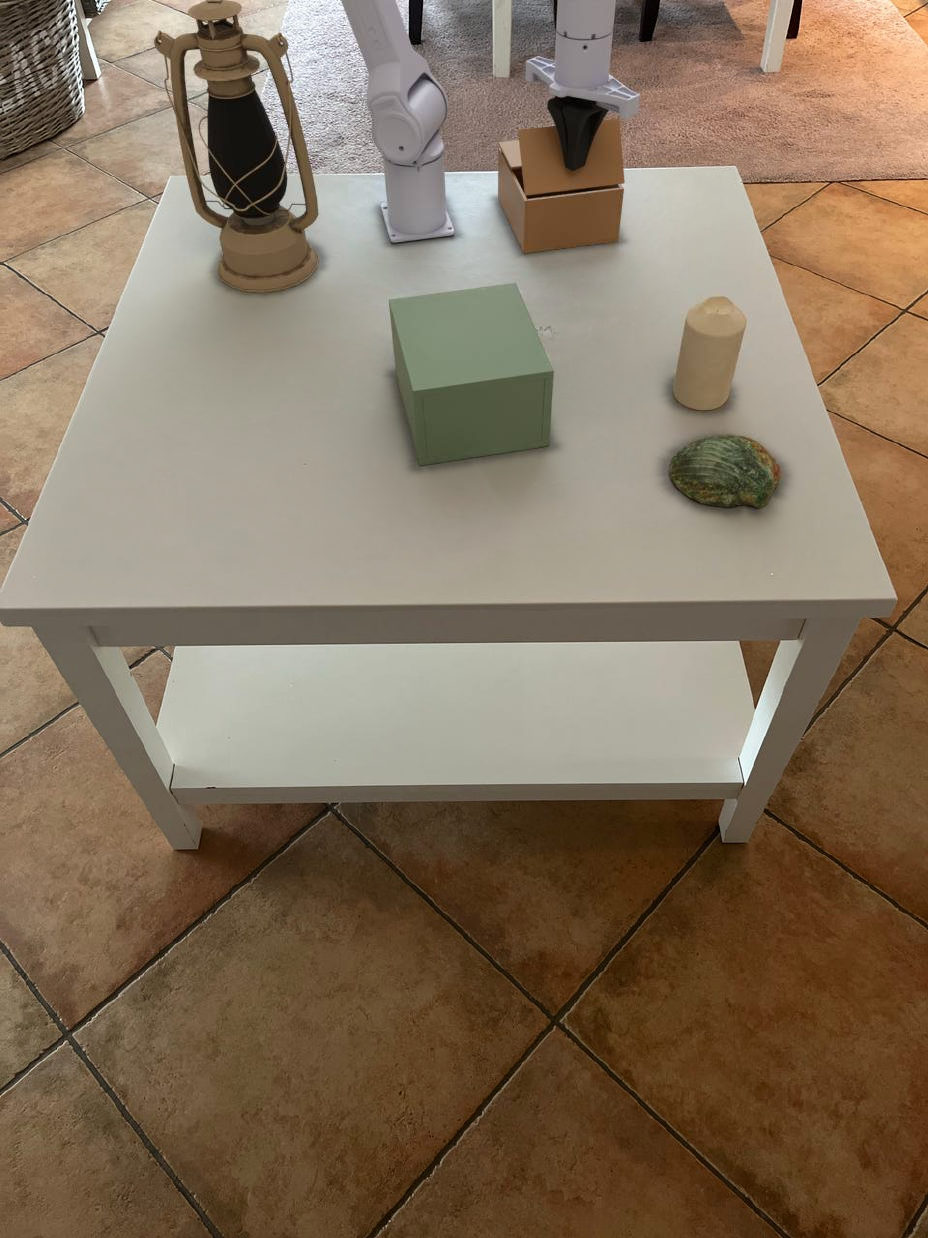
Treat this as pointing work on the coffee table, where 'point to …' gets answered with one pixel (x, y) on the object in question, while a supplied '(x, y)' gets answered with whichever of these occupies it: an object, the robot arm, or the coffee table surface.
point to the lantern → (243, 151)
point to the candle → (708, 353)
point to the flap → (548, 165)
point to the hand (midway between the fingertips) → (575, 166)
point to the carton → (555, 209)
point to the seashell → (726, 471)
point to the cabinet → (471, 373)
